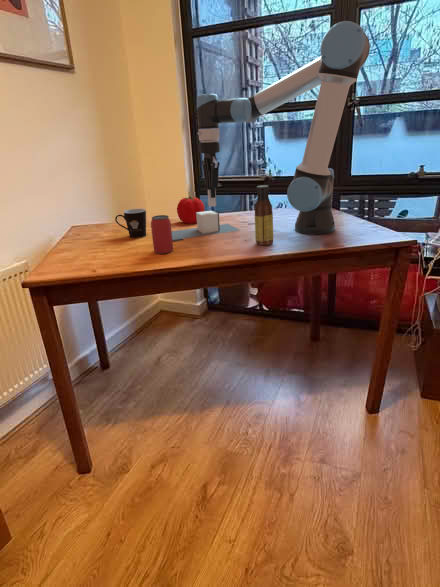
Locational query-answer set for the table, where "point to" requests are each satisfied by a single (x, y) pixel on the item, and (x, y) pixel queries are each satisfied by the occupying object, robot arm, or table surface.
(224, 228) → the rubber mat
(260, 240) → the sauce bottle
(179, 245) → the table surface
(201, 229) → the cream block
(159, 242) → the beer can
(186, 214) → the tomato
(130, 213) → the coffee mug
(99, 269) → the table surface
